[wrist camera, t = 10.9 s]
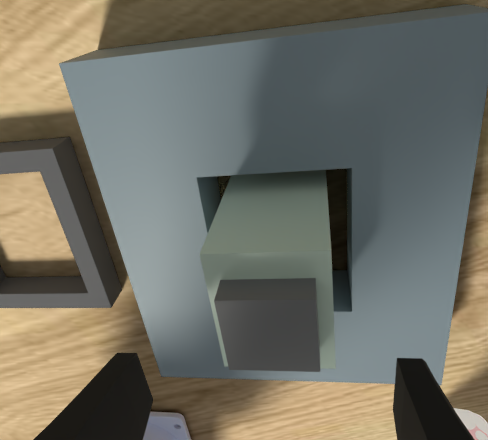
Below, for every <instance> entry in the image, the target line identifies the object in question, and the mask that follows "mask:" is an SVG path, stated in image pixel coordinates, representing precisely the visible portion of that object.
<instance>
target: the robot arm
mask: <svg viewBox="0 0 488 440" xmlns="http://www.w3.org/2000/svg"><path fill="white" fill-rule="evenodd" d="M152 402H153V398H152V395H151V392H150V389H149V386H148V384H147V381H146V378H145V375H144V372H143V369H142V367H141V364H140V361H139V358H138V355H137V353H117V354H116V355H115V356H114V357H113V358H112V359H111V360H110V361H109V362H108V363H107V364H106V365H105V366H104V367H103V368H102V370H101V371H100V372H99V373H98V374H97V375H96V376H95V377H94V378H93V379H92V380H91V381H90V382H89V384H88V385H87V386H86V387H85V388H84V389H83V390H82V391H81V392H80V393H79V394H78V395H77V396H76V397H75V398H74V399H73V400H72V402H71V403H70V404H69V405H68V406H67V407H66V408H65V409H64V410H63V411H62V412H61V413H60V414H59V415H58V416H57V417H56V418H55V419H54V420H53V421H52V422H51V423H50V424H49V425H48V426H47V427H46V428H45V429H44V430H43V431H42V432H41V433H40V434H39V435H38V436H37V437H36V438H35V439H34V440H191V438H190V435H189V431H188V428H187V425H186V422H185V418H184V417H183V415H181V414H179V413H171V412H150V411H151V406H152ZM393 412H394V420H395V427H396V434H397V440H475V439H474V438H473V436H472V435H471V434H470V432H469V431H468V429H467V428H466V426H465V425H464V424H463V422H462V421H461V419H460V418H459V416H458V415H457V413H456V412H455V410H454V409H453V407H452V405H451V404H450V402H449V401H448V399H447V398H446V396H445V394H444V393H443V391H442V389H441V388H440V386H439V384H438V383H437V381H436V379H435V378H434V376H433V374H432V372H431V371H430V369H429V367H428V365H427V363H426V362H425V361H424V360H423V359H422V358H397V362H396V376H395V389H394V403H393Z"/></svg>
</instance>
